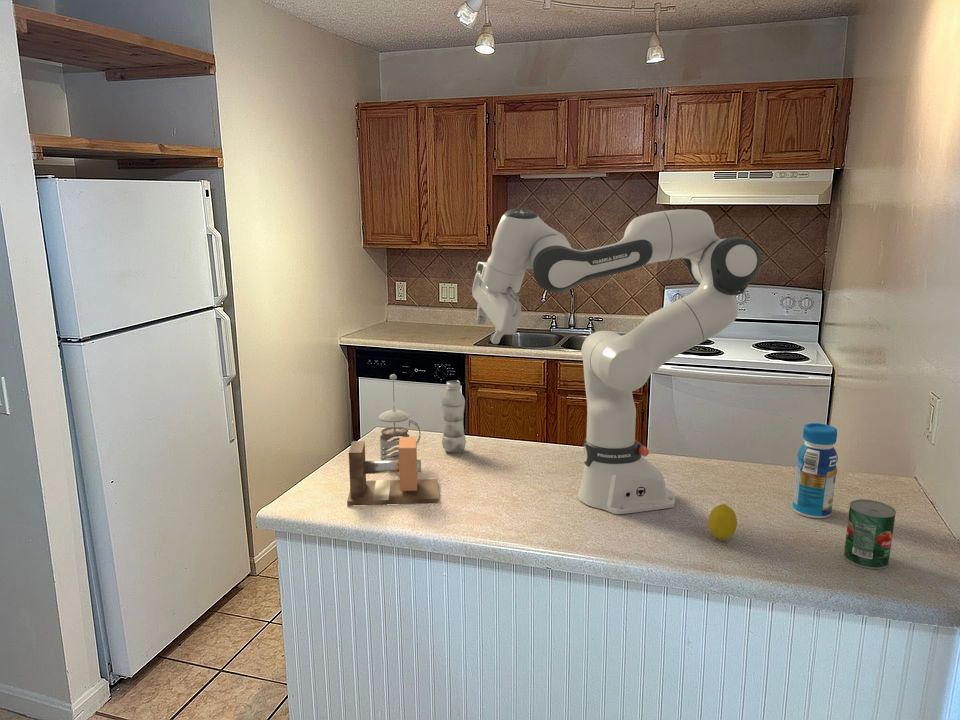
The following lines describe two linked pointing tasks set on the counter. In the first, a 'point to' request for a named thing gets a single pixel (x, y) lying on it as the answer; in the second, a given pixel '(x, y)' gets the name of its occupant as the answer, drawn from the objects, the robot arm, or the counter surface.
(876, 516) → the canned tomato
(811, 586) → the counter surface
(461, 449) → the plastic bottle
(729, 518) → the lemon
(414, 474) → the collar
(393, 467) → the steel pipe
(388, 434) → the french press
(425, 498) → the pipe stand
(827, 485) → the beverage bottle
